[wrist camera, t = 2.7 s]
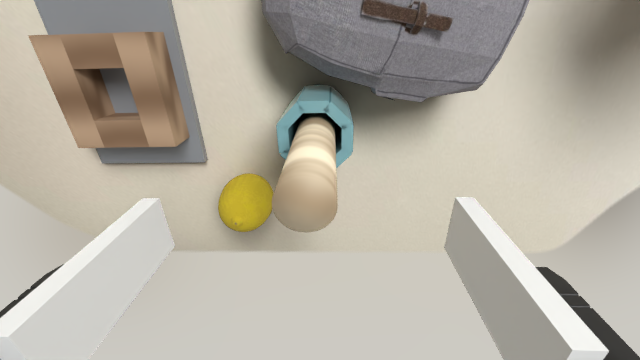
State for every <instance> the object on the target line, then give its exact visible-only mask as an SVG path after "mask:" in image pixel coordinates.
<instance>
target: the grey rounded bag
mask: <svg viewBox="0 0 640 360" xmlns="http://www.w3.org/2000/svg"><path fill="white" fill-rule="evenodd" d="M261 2H262V11H263V14H264V16H265V18H266V20H267V21H268V23H269V25H270V27H271V29H272V30H273V32H274V34H275V36H276V38H277V39H278V41H279V43H280V45H281V46H282V48H283V50H284V52H285V53H288V52H290V53H291V54H293V55H295V56H296V57H298V58H300V59H301V60H303V61H305V62H306V63H308V64H310V65H311V66H313V67H315V68H316V69H318V70H320V71H321V72H323V73H325V74H327V75H329V76H332V77H336V78H340V79H343V80H347V81H350V82H354V83H357V84H361V85H364V86H368V87H370V88H371V91H372V92H373V93H374V94H376V95H377V96H381V97H384V98H388V97H390V98H388V99H391V98H397V99H403V100H410V101H416V102H423V101H424V100H425V99H427V98H428V97H435V96H441V95H447V94H454V93H460V92H466V91H473V90H477V89H478V88H479V87H480V86H481V85H482V84H483V83H484V82H485V81H486V79H487V78H488V76H489V75H490V73H491V72H492V71H493V69H494V68H495V66H496V65H497V63H498V62H499V61H500V59H501V57H502V55H503V53H504V52H505V50H506V48H507V46H508V44H509V42H510V40H511V38H512V36H513V34H514V33H515V31H516V29H517V27H518V25H519V23H520V21H521V19H522V17H523V15H524V13H525V10H526V8H527V5H528V2H529V0H261ZM391 100H393V99H391Z"/></svg>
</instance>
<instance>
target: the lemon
mask: <svg viewBox="0 0 640 360" xmlns="http://www.w3.org/2000/svg"><path fill="white" fill-rule="evenodd" d="M272 197H273V190H272V188H271V186H270V184H269V183H268V182H267V181H266V180H265V179H264V178H262V177H261V176H258V175H256V174H242V175H239V176H237V177H235V178H234V179H232V180H231V181H229V183H228V184H227V185H226V186H225V187H224V189H223V191H222V193H221V196H220V198H219V206H218V211H219V215H220V217H221V219H222V221H223V222H224V223H225V225H226V226H228V227H229V228H231V229H233V230H235V231H239V232H247V231H252V230H254V229H256V228H258V227H259V226H261V225H262V224H263V223H264V222H265V221H266V219H267V218H268V217H269V215H270V213H271V211H272Z"/></svg>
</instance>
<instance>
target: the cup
mask: <svg viewBox="0 0 640 360" xmlns="http://www.w3.org/2000/svg"><path fill="white" fill-rule="evenodd" d="M303 113H326V114H327V115H328V116H329V117H331V118H332V119H333V120H334V121H335V146H336V168H337V167H338V166H339V165H341V164H342V163H343V162H344V161H345V160H346V159H347V158H348V157H349V156H350V155H351V154H352V152H353V121H352V117H351V112H350V108H349V104H348V102H347V101H346V100H345V99H344V98H343V96H342V95H341V94H340V93H339V92H338V91H337V90H336V89H334V88H333V87H332V86H331V87H330V85H323V84H315V85H310V86H306V87H304V88H303V89H302V90H301V91H300V92H299V93H298V94H297V95H296V97H295V98H294V99H293V100H292V101H291V102H290V104H289V105H288V107H287V108H286V110H285V112H284V113H283V115H282V116H281V118H280V120H279V121H278V123H277V125H276V128H277V138H278V147H279V153H281V154H280V155H281V156H282V157H283V158H284V159H285V160H286V158H287V156H288V153H289V150H290V147H291V145H292V142H293V139H294V137H295V134H296V131H297V128H298V126H299V123H300V120H301V118H302V115H303Z"/></svg>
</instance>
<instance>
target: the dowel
mask: <svg viewBox="0 0 640 360" xmlns="http://www.w3.org/2000/svg"><path fill="white" fill-rule="evenodd" d="M272 209H273V212H274V214H275V216H276V218H277V219H278V220H279V221H280V222H281V223H282V224H283V225H284V226H286V227H288V228H290V229H292V230H295V231H299V232H314V231H318V230H320V229H322V228H324V227H326V226H327V225H328V224H329V223H331V221H332V220H333V219H334V217H335V215H336V212H337V176H336V146H335V121H334V120H333V119H332V118H331V117H329V116H328V115H327V114H326V113H303V115H302V118H301V120H300V123H299V126H298V128H297V131H296V134H295V137H294V139H293V142H292V145H291V147H290V150H289V153H288V156H287V158H286V161H285V164H284V167H283V169H282V172H281V175H280V177H279V180H278V183H277V186H276V188H275V191H274V194H273V197H272Z"/></svg>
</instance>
